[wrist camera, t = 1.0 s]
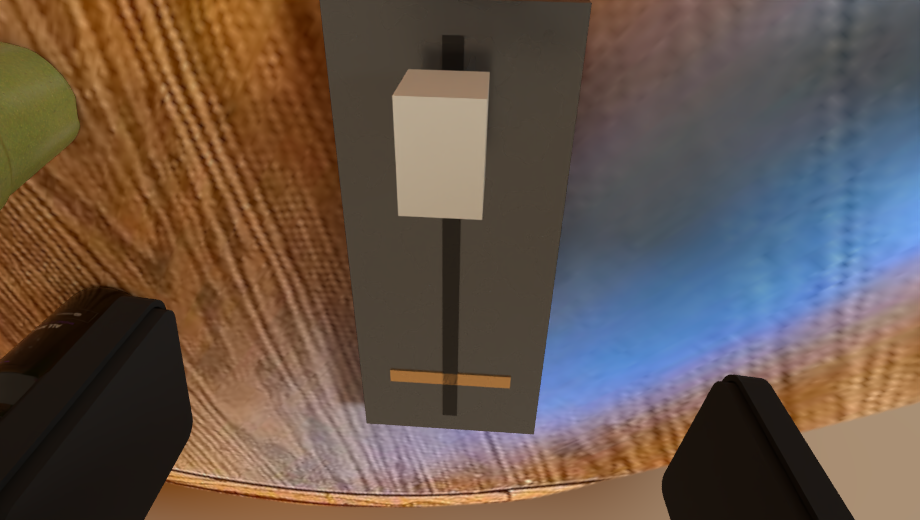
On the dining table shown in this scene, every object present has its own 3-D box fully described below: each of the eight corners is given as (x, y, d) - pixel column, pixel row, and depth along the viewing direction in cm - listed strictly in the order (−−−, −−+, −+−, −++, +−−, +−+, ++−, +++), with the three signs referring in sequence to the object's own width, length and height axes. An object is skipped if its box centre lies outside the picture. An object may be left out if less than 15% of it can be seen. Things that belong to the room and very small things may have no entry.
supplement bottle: (80, 266, 37) (-81, 402, 27) (179, 312, 38) (62, 456, 28) (63, 331, 40) (-86, 473, 30) (154, 371, 42) (42, 518, 31)
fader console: (333, -12, 26) (318, -5, 24) (584, -5, 26) (591, 3, 24) (373, 397, 41) (366, 424, 39) (532, 407, 41) (533, 435, 39)
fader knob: (413, 60, 25) (392, 95, 20) (490, 63, 25) (487, 99, 20) (416, 163, 27) (398, 215, 23) (485, 166, 27) (482, 219, 23)
